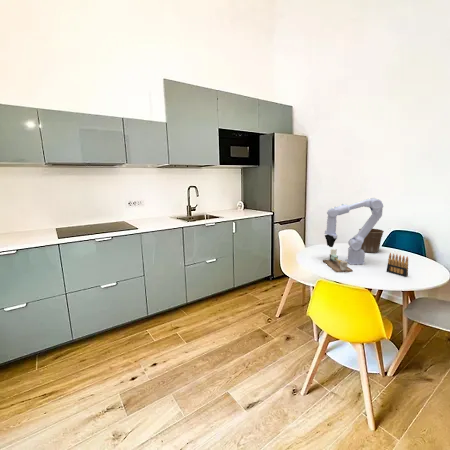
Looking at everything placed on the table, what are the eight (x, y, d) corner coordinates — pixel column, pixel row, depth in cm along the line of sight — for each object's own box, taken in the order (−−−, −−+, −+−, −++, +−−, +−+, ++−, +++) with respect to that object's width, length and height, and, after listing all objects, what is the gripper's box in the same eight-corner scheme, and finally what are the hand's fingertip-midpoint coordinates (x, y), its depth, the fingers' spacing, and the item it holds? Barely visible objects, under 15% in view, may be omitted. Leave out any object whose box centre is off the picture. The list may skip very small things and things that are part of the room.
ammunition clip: (386, 271, 155) (388, 252, 153) (387, 271, 156) (389, 251, 154) (406, 277, 147) (408, 256, 144) (407, 276, 148) (410, 256, 145)
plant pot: (362, 246, 208) (363, 227, 205) (384, 250, 196) (386, 229, 193) (354, 251, 198) (355, 230, 194) (377, 255, 186) (379, 233, 183)
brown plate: (337, 261, 176) (337, 252, 175) (352, 271, 157) (353, 262, 156) (322, 261, 176) (323, 253, 175) (336, 272, 156) (336, 262, 155)
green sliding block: (335, 258, 172) (336, 249, 171) (338, 260, 168) (339, 251, 167) (330, 258, 172) (330, 249, 170) (332, 260, 168) (333, 251, 167)
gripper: (321, 224, 179) (319, 243, 182) (330, 228, 165) (328, 249, 168) (331, 224, 179) (329, 243, 182) (341, 228, 165) (339, 249, 168)
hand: (330, 246), depth 175 cm, fingers open, 3 cm apart
